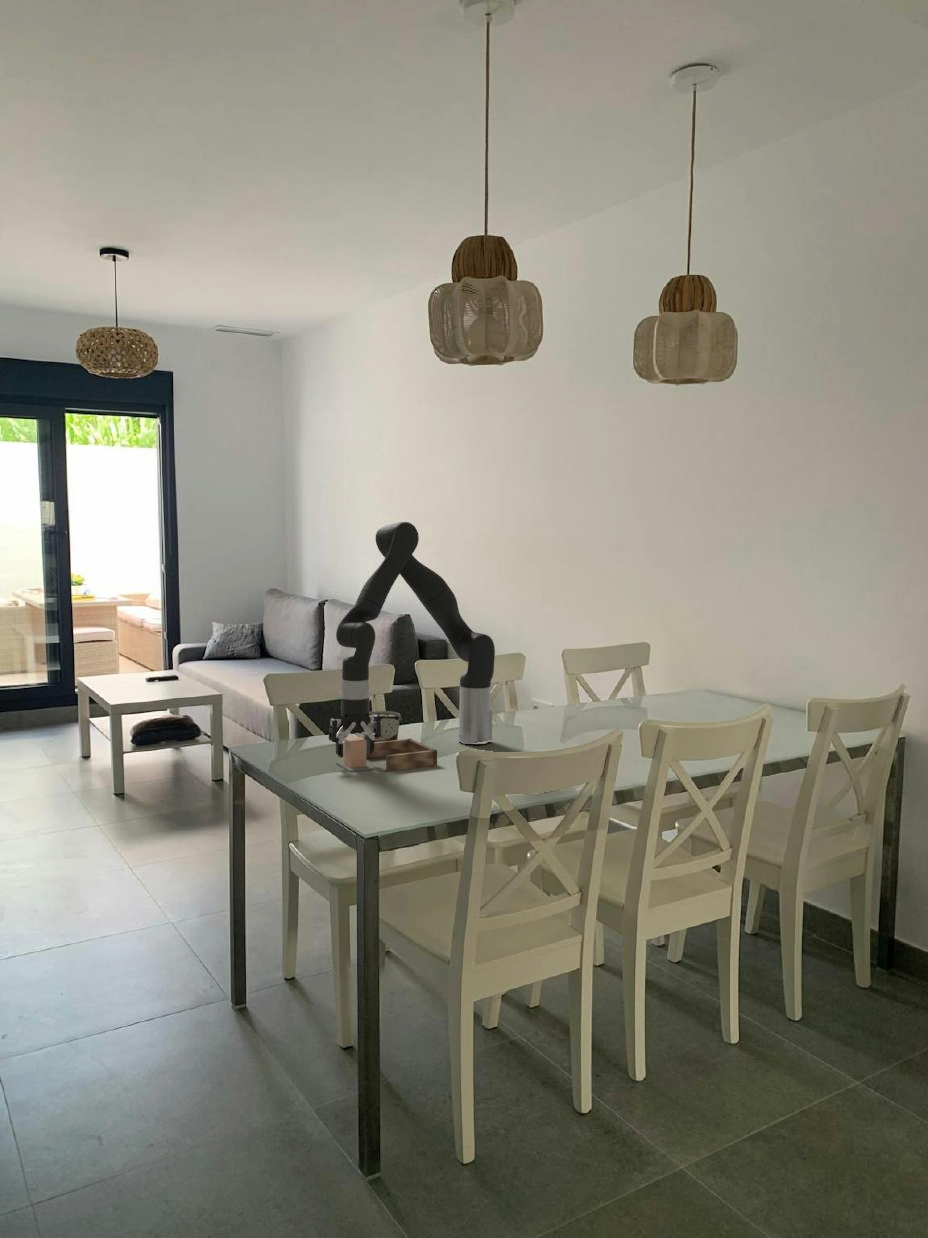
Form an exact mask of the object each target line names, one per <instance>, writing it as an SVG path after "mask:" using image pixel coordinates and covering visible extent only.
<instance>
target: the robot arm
mask: <svg viewBox="0 0 928 1238" xmlns="http://www.w3.org/2000/svg"><path fill="white" fill-rule="evenodd" d="M375 544H376V546H377V548H378V551H379V552H380V553H381V555H382V556H383V558H384V559H383V561H382V562H381V564H380V565H379V566H378V568H376V570H375V571H374V572H373V573H372V574H371V575H370V576H369V578H368V579H367V581H366V582H365V583H364V585H363V586H362V589H361V591H360V593H359V595H358V597H357V599H356V601H355V604H354V605H353V606H352V607H351V609H349V611H348V612H347V613H346V614H345V616H344V617H342V619H341V620H340V622H339V624H338V626H337V628H336V633H335V636H336V638H335V639H336V642H337V644H339V646H341V647H344V648H352V649H353V648H354V649H355V651H354V654H353V655H352V656H347V657H344V659H343V661H342V670H341V671H342V675H341V676H342V677H341V679H342V680H341V689H340V690H341V695H340V696H341V698H340V699H341V701H340V704H341V705H340V713H341V716H340V718H338V719H337V718H336V719H335V718H330V719H329V726H328V740H329V741H330V742H332V743H335V754H336V756H337V757H338V758H344V743H343V742H344V739H345V738H348V736H349V735H354V734H363V735H364V734H365V735H366V736H367V738H368V739H367V753H368V754H372V752H374V740H375V739H376V738H378V737H381V721H380V716H378V715H375V714H374V715H373V716H369V712H370V694H371V692H370V682H369V679H370V678H369V677H370V675H369V674H370V671H369V670H370V668H369V667H370V666H369V665H370V661H371V657H372V654H373V650H374V647H375V643H376V642H375V641H376V632H375V628H374V627H373V625H372V624H370V623H368V622H370V621H374V620H376V619H378V617H379V615H380V614H381V611H382V609H383V608H384V607H383V606H384V605H385V603H386V599H387V598H388V596H389V593H390V592H391V589H392V587H393V585H394V583H395V582H396V580H397V579H398V577H399V575H400V576H401V577H402V579H403V580H404V581H405V583H406V584H407V585H408V586H409V588H410V589H411V591H413V593H414V595H416V597H417V598H418V600H419V601H420V603H421V604H422V605H423V607H424V609H426V611H427V612H428V614H429V615H430V617H432V619H433V620H434V621H435V623H436V624H437V625H438V627H439V628H440V629H441V631H442V632H443V633H444V635H445V636H446V638H447V640H448V642H449V644H450V645H451V646H452V648H453V650H454V652H455V653H456V655H457V656H458V657H459V659H461V660H462V661H464V662H465V663H467V670H466V673H465V674H463V675H461V676H460V678H459V707H458V708H459V709H458V710H459V712H458V715H459V717H458V720H459V721H458V724H459V725H458V726H459V727H458V743H459V742H461V743H463V744H462V745H465V744H471V743H477V742H483V741H488V740H492V741H493V724H494V723H493V721H494V720H493V717H494V715H493V713H494V712H493V711H492V710H491V685H492V683H491V682H492V679H493V677H494V671H495V655H496V654H495V653H496V652H495V651H496V650H495V643H494V641H493V639H492V638H491V636H489V635H487V634H484V633H479V632H475V631H473V630H472V629H471V628H470V627H469V626H468V624H467V623H466V622H465V621H464V619H463V618H462V616H461V613H460V611H459V605H458V601H457V598H456V596H455V594H454V592H453V591H452V589H451V588H450V587H449V585H448V583H447V582H446V580H445V579H444V578H443V577H442V576H440V575H439V573H437V572H435V571H434V570H433V569H431V568H429V567H428V566H426V565H425V564H424V563H422V562H420V561H419V560H418V559H417V558H416V557H415V556H414V555H413V554H414V553H415V550H416V549H417V547H418V544H419V531H418V530H417V528H416V526H415V525H414V524H412V523H411V522H408V521H400V522H395V523H391V524H388V525H384V526H381V527H380V528H379V529H378V530H376V533H375ZM370 721H371V722H372V723H373V734H372V733H371V731H370V729H369V728H368V727H367V726H368V724H369V722H370ZM340 725H341V726H342V727H341V728H340V730H338V728H339V727H340ZM337 730H338V731H339V732H338V731H337ZM337 733H338V734H337ZM461 743H460V744H461Z"/></svg>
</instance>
